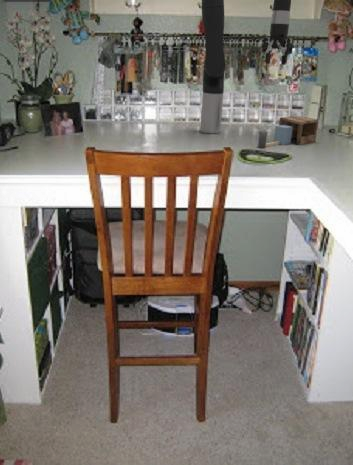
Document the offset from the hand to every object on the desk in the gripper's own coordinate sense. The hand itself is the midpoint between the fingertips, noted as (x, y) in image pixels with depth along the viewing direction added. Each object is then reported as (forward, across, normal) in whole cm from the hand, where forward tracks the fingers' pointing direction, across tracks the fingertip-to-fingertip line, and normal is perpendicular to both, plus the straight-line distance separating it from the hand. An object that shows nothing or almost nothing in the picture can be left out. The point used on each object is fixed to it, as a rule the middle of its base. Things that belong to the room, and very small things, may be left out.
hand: (275, 64), depth 203 cm
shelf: (+30, -16, +1) cm, 34 cm away
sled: (+30, -16, +16) cm, 38 cm away
